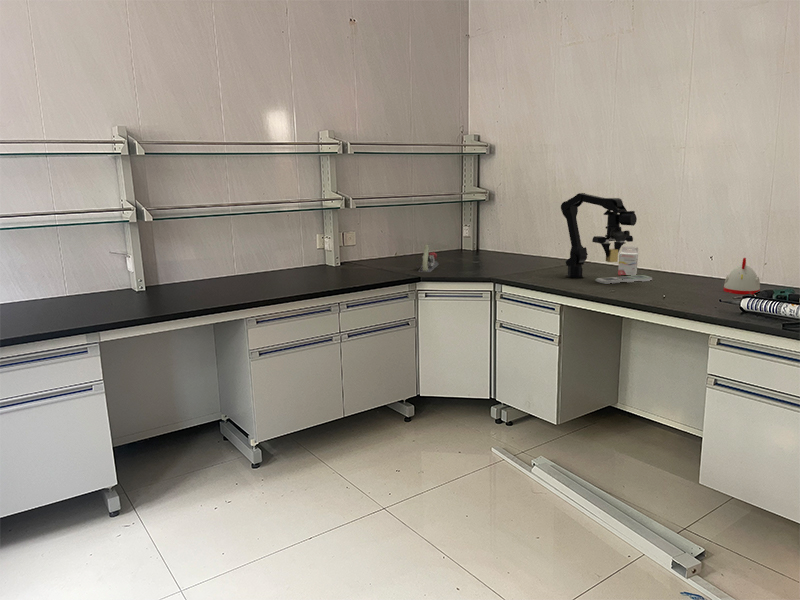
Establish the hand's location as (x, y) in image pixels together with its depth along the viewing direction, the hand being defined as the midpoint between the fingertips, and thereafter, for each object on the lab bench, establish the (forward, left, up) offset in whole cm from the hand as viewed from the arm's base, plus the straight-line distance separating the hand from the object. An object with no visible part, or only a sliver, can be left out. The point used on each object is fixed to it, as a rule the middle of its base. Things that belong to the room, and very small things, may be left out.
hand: (611, 256), depth 289 cm
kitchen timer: (+40, -39, -13) cm, 58 cm away
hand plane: (-72, +74, -13) cm, 105 cm away
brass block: (0, 0, -2) cm, 2 cm away
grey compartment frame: (+7, 0, -12) cm, 15 cm away
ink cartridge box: (+18, +14, -13) cm, 26 cm away
